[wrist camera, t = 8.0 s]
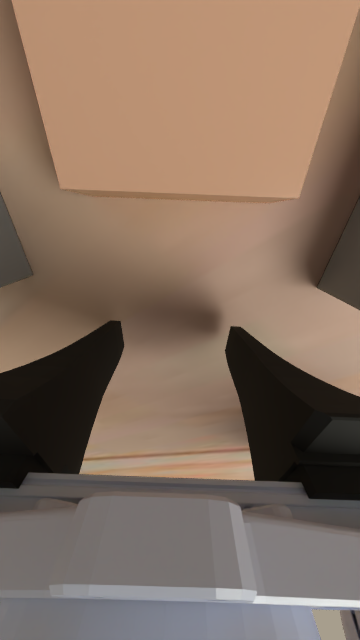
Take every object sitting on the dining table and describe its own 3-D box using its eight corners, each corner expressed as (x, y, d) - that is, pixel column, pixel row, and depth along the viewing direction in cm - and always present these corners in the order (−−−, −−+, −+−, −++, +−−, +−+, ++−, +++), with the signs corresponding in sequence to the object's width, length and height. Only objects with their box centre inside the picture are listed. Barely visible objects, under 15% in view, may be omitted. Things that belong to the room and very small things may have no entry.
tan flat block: (265, 203, 9) (298, 198, 7) (95, 197, 9) (60, 189, 6) (315, -3, 6) (415, -169, 3) (57, -16, 6) (-40, -196, 3)
